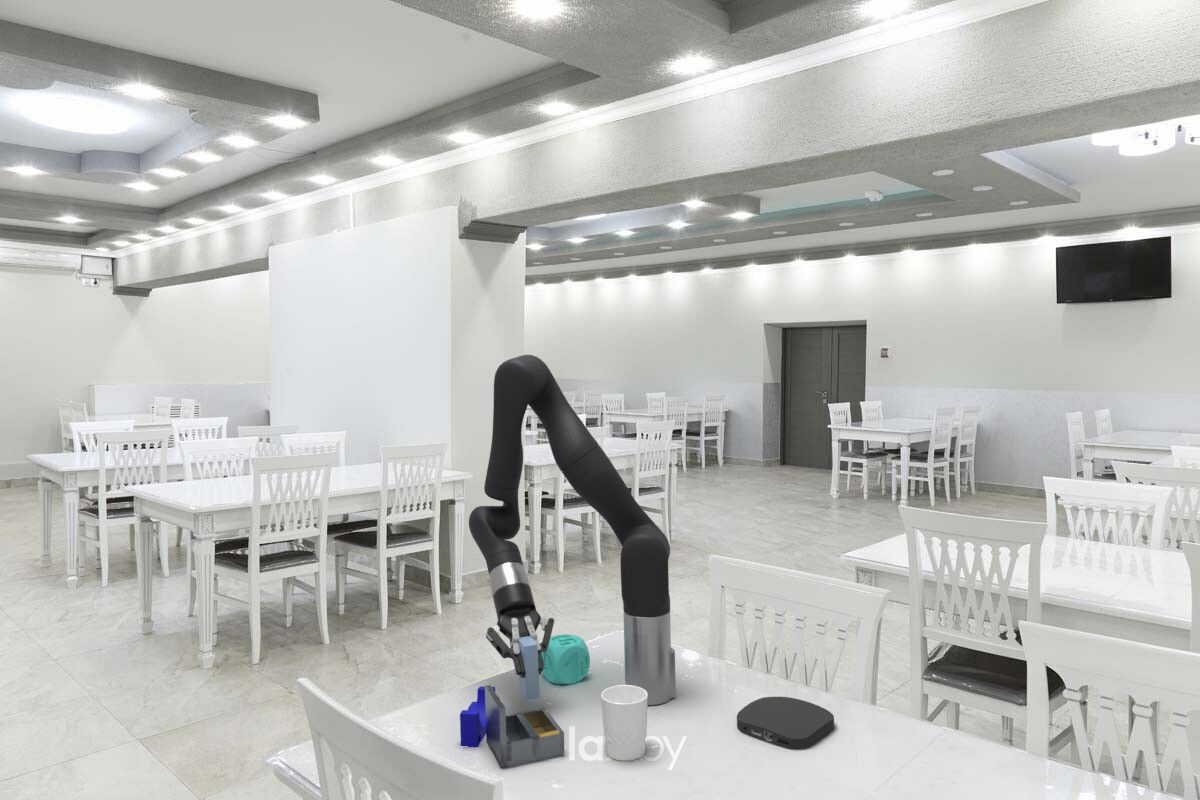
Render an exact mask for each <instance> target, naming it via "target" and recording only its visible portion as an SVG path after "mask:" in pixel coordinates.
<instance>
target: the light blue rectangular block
mask: <svg viewBox="0 0 1200 800" xmlns="http://www.w3.org/2000/svg"><path fill="white" fill-rule="evenodd" d="M519 646H520V654H521V655H522V659H523V663H524V667H525V670H526V674H525V677H524V678H520V675H518V687H519V688H518V689H519V692H520V693H521V695H522V696H523V697H524V699H525V701H531V700H535V699H536V700H537V699H540V698H541V697H540V675H539V672H538V646H537V643H536V642H535V641H534V640H533V639H532V638H531V637H530V636H525V637H519Z"/></svg>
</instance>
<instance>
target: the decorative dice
mask: <svg viewBox="0 0 1200 800" xmlns="http://www.w3.org/2000/svg"><path fill="white" fill-rule="evenodd" d="M541 654H542V658H543V662H544V668H543V671H542V672H541V673H542V675H543V676H544V678H545V680H546V681H547V682H549V683H551V682H552V683H551V684H553V683H556V684H555V685H559V684H568V685H573V684H577V683H579V682H580V681H582V680H583V679H584V678H585V677H586V675H587V674H588V672H589V670H590V666H591V658H590V657H591V656H590V651H589V648H588V645H587V643H586V642H585V640H584V639H583V638H582V637H581V636H579V635H575V634H569V633H567V634H565V633H564V634H557V635H556V634H555V635H553V636H552V635H551V637H550V642H549V645H548V647H547V650H546V651H545V652H542V653H541Z"/></svg>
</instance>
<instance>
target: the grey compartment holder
mask: <svg viewBox="0 0 1200 800" xmlns="http://www.w3.org/2000/svg"><path fill="white" fill-rule="evenodd" d="M484 686H485V711H486V734H485V737H486V739H485V740H486V741H485V742H486V743H487V745H488V747H489V749H490V751H491V753H492V755H493V757H494V758H495V760H496V762H497V765H498V766H499V767H500V770H502V769H506V768H507V769H508V768H511V767H512V768H513V767H516V766H520V765H526V764H531V763H535V762H541V761H545V760H550V759H555V758H560V757H565V756H566V755H565V754H566V753H565V750H566V749H565V732H564V731H563V729H562V728H561V726H560V725H559V724H558V722H557V721H556V720H555V719H554V717H553V716H552V715H551V713H550V712H549V711H548V709H547V708H545V707H544V708H539V709H533V710H529V711H523V712H522V711H521V712H517V713H512V714H506V707H505V705H504V703H503V702H502V700H501V699H500V697H499V695H498V694H497V692H496V690H495V691H494V689H493V688H492V687H493V686H492V685H491V684H485V685H484Z"/></svg>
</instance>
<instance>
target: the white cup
mask: <svg viewBox="0 0 1200 800" xmlns="http://www.w3.org/2000/svg"><path fill="white" fill-rule="evenodd" d="M600 696H601V697H600V700H601V711H602V712H601V713H602V715H601V716H602V725H603V735H604V743H605V746H604V747H605V753H606V754H607V756H608V757H609V758H611V759H613V760H615V761H624V762H626V761H635V760H637V759H638V760H639V759H641V758H642V757H643V756H644V755H645V753H646V738H647V729H648V727H647V726H648V705H647V700H648V694H647V692H646V690H644V689H643V688H640V687H637V686H632V685H625V684H618V685H614V686H613V685H612V686H609V687H607V688H605V689H604V690H603V691H602V692H601V693H600Z"/></svg>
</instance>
